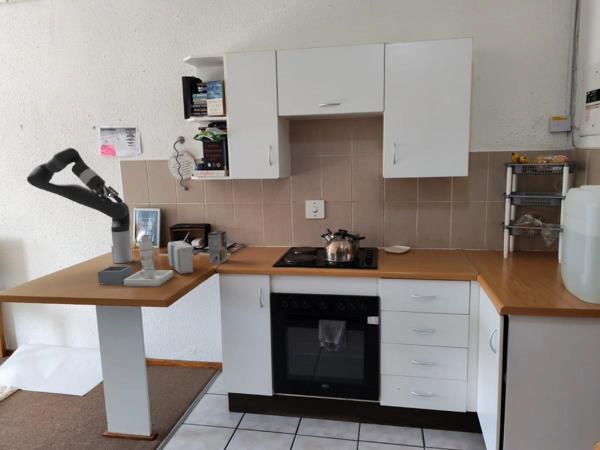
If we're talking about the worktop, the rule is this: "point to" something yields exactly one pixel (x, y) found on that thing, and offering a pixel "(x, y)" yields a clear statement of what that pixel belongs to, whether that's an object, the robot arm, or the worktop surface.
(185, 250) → the stereo radio cassette player
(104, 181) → the robot arm
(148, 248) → the plastic bottle
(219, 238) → the coffee box
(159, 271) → the tray
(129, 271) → the grey open box
